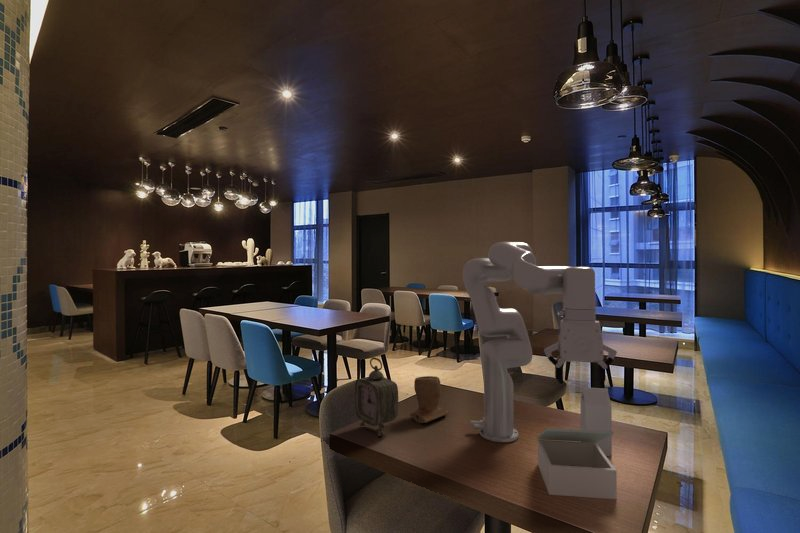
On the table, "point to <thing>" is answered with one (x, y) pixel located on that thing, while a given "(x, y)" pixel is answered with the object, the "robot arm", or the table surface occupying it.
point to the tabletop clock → (376, 399)
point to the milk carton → (597, 415)
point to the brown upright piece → (428, 399)
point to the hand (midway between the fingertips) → (580, 382)
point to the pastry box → (576, 469)
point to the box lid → (574, 435)
